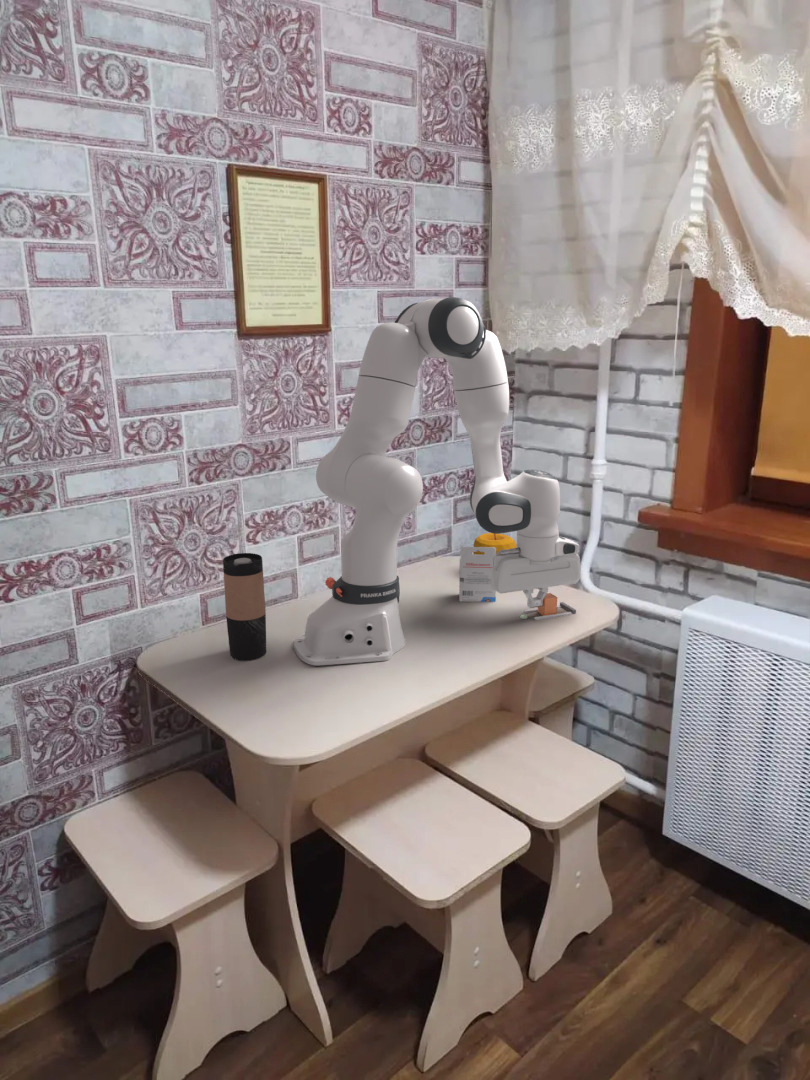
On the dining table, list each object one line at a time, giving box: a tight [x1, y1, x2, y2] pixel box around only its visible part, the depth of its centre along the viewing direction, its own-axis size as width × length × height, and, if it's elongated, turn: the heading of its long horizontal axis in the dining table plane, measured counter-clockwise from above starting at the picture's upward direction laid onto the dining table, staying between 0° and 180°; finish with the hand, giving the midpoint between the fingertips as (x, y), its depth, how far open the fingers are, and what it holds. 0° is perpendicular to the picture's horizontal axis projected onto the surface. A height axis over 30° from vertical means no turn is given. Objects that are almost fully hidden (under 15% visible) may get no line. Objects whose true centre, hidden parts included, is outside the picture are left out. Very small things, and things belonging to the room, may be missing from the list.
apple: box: [472, 532, 517, 555], centre depth 199 cm, size 11×11×13 cm
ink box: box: [458, 546, 497, 603], centre depth 183 cm, size 8×5×15 cm, turn 85°
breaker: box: [537, 592, 558, 616], centre depth 174 cm, size 3×3×4 cm
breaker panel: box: [519, 601, 577, 621], centre depth 178 cm, size 12×15×3 cm
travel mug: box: [222, 552, 267, 662], centre depth 155 cm, size 8×8×20 cm
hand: (534, 606), depth 172 cm, fingers closed
